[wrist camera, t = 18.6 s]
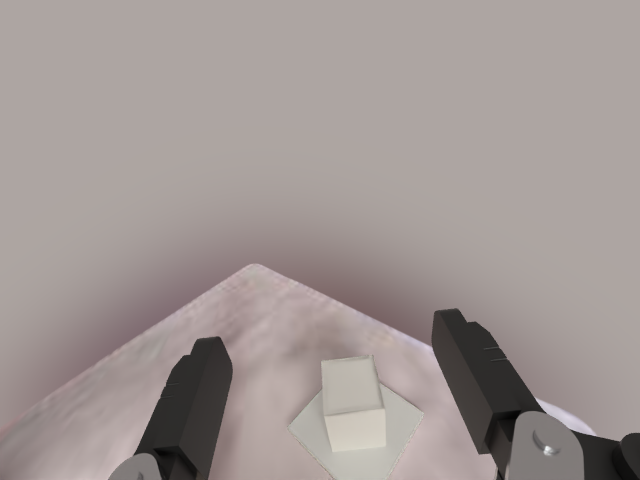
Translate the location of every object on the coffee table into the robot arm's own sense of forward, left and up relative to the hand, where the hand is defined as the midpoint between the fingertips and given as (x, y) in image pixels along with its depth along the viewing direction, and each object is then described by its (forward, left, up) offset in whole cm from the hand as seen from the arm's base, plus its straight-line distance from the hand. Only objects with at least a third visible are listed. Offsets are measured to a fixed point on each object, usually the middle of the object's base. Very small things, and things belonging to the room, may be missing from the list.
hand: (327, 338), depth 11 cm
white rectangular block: (-8, +9, -29) cm, 31 cm away
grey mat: (-8, +9, -30) cm, 32 cm away
